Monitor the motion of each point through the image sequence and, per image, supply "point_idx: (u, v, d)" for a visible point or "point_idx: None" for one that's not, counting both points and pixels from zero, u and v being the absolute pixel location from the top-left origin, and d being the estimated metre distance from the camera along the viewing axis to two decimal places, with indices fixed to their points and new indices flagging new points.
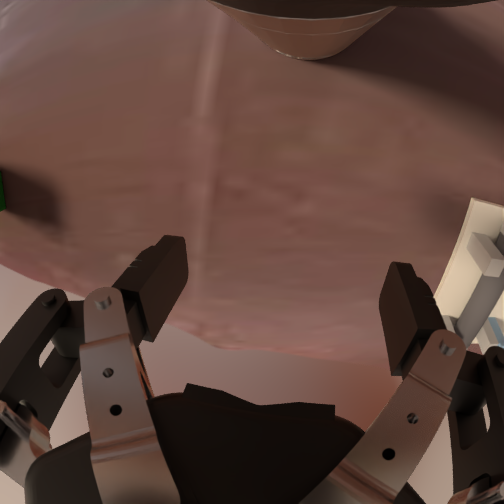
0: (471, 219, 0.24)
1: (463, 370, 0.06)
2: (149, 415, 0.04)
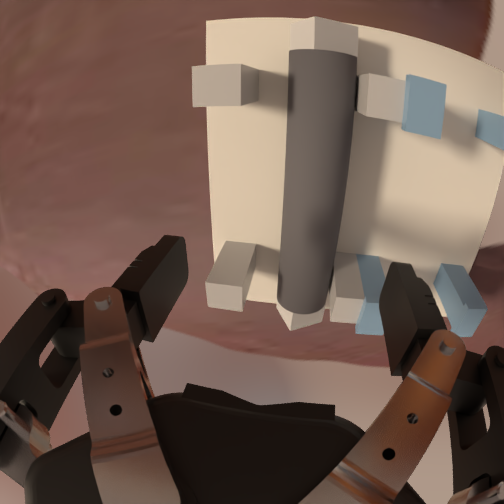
0: (210, 51, 0.15)
1: (463, 370, 0.06)
2: (149, 415, 0.04)
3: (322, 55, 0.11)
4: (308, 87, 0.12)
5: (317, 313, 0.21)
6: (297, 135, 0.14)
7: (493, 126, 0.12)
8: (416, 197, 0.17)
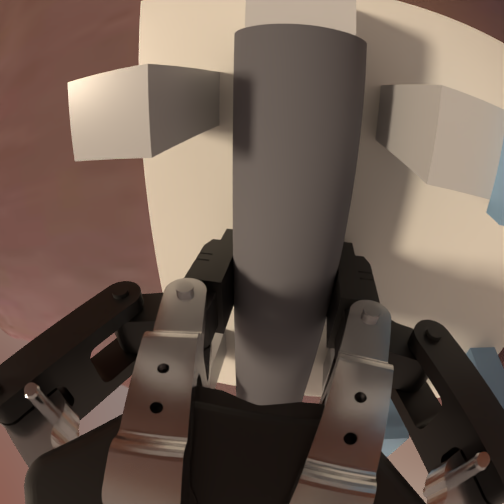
0: (145, 47, 0.08)
1: (390, 341, 0.07)
2: (187, 424, 0.04)
3: (257, 36, 0.05)
4: (239, 102, 0.07)
5: None
6: (233, 189, 0.08)
7: None
8: (456, 275, 0.11)
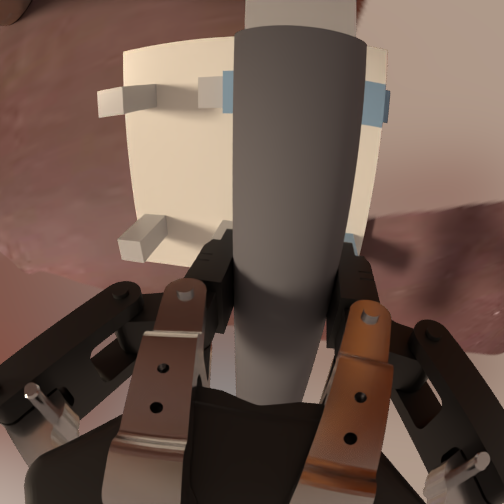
0: (126, 74, 0.20)
1: (390, 341, 0.07)
2: (187, 423, 0.04)
3: (257, 38, 0.05)
4: (239, 104, 0.07)
5: None
6: (233, 191, 0.08)
7: None
8: None
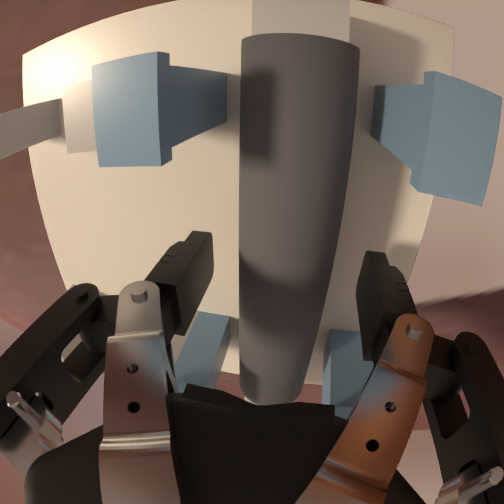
0: (25, 87, 0.11)
1: (432, 355, 0.06)
2: (166, 417, 0.04)
3: (262, 43, 0.06)
4: (246, 102, 0.07)
5: None
6: (239, 180, 0.09)
7: (386, 110, 0.07)
8: None
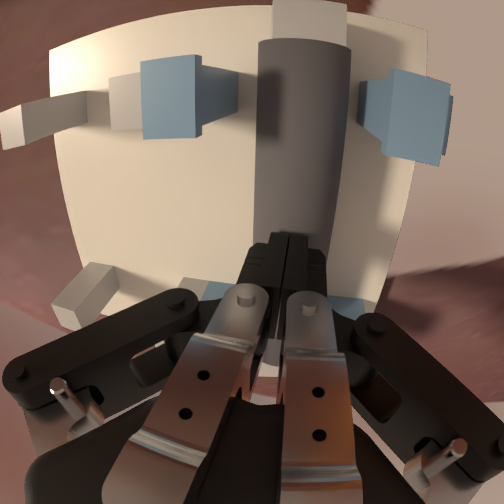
0: (52, 80, 0.13)
1: None
2: (212, 437, 0.04)
3: (282, 45, 0.08)
4: (266, 90, 0.09)
5: None
6: (258, 154, 0.11)
7: (366, 100, 0.10)
8: None
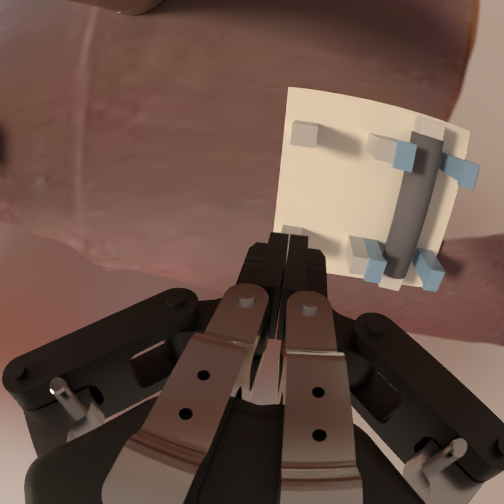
0: (289, 107, 0.27)
1: None
2: (212, 437, 0.04)
3: (422, 137, 0.23)
4: None
5: (397, 283, 0.31)
6: (406, 174, 0.26)
7: (448, 163, 0.24)
8: None
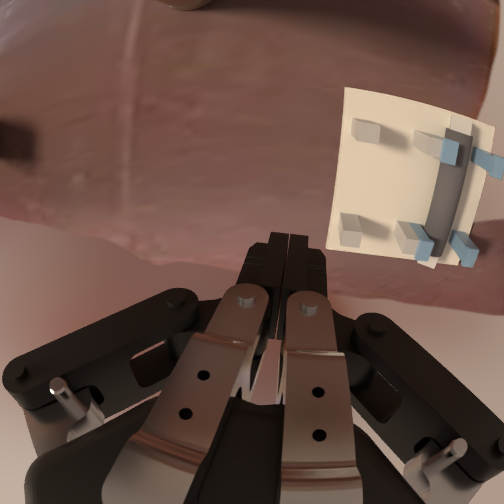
0: (347, 105, 0.29)
1: None
2: (212, 437, 0.04)
3: (452, 132, 0.25)
4: None
5: (433, 261, 0.33)
6: (440, 164, 0.28)
7: (479, 156, 0.26)
8: None
